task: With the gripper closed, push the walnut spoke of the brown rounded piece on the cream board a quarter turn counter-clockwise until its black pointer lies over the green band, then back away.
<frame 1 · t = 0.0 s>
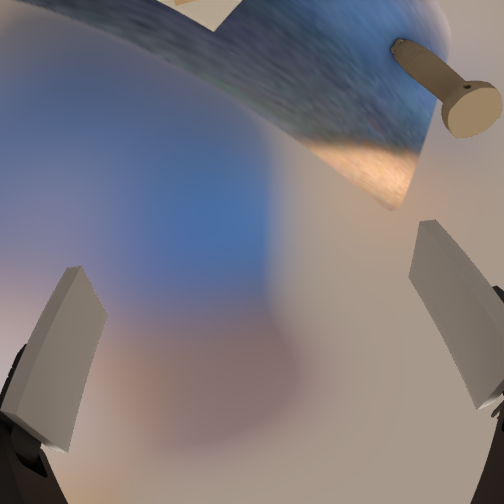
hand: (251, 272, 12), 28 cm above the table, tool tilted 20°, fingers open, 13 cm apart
handle: (400, 48, 28), on the table
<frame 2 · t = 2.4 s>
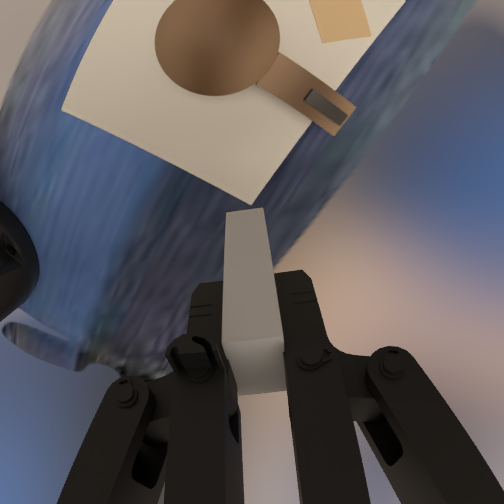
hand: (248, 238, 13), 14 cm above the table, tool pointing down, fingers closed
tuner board: (227, 32, 19), on the table
brown rounded piece: (259, 63, 17), point 4 cm above the table, hinge at 0.0°
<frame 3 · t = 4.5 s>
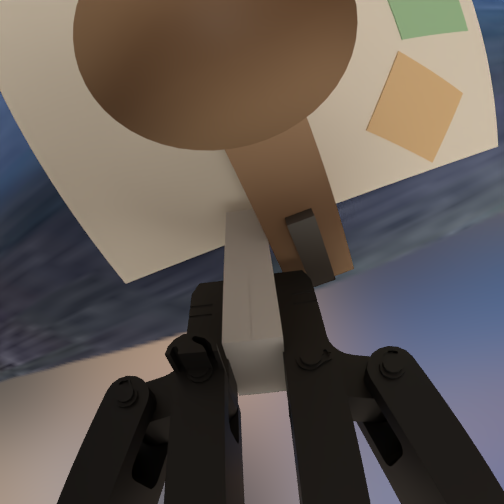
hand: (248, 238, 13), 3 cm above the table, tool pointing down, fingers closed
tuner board: (243, 24, 11), on the table
brown rounded piece: (254, 106, 9), point 4 cm above the table, hinge at 0.0°, touching gripper
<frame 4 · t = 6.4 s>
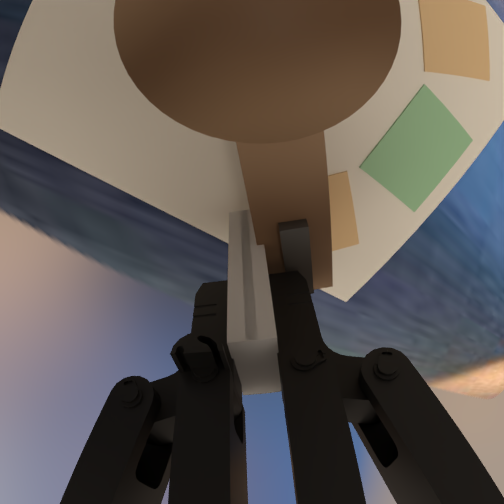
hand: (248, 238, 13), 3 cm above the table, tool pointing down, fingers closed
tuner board: (274, 40, 11), on the table
brown rounded piece: (273, 107, 9), point 4 cm above the table, hinge at 42.2°, touching gripper
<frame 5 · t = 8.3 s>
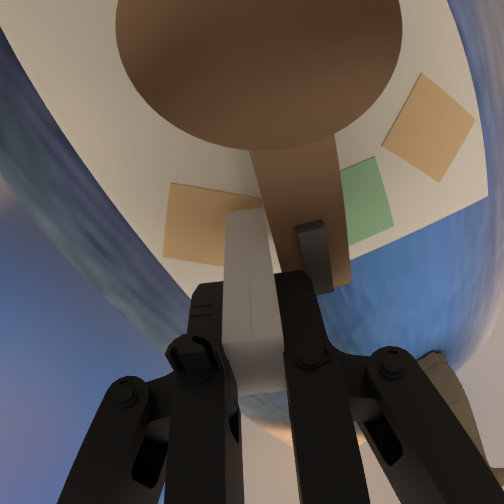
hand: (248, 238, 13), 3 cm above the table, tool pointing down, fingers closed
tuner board: (262, 52, 11), on the table
handle: (426, 358, 25), on the table
brown rounded piece: (280, 112, 9), point 4 cm above the table, hinge at 77.7°
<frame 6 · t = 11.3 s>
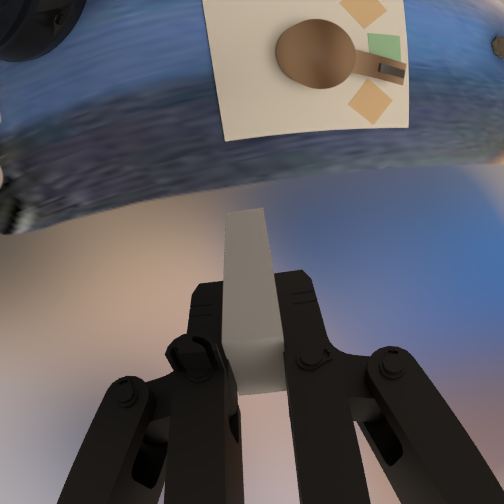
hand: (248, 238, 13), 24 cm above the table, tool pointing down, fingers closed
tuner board: (314, 53, 29), on the table
handle: (497, 46, 26), on the table
brown rounded piece: (342, 59, 26), point 4 cm above the table, hinge at 77.8°
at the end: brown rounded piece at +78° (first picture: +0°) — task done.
